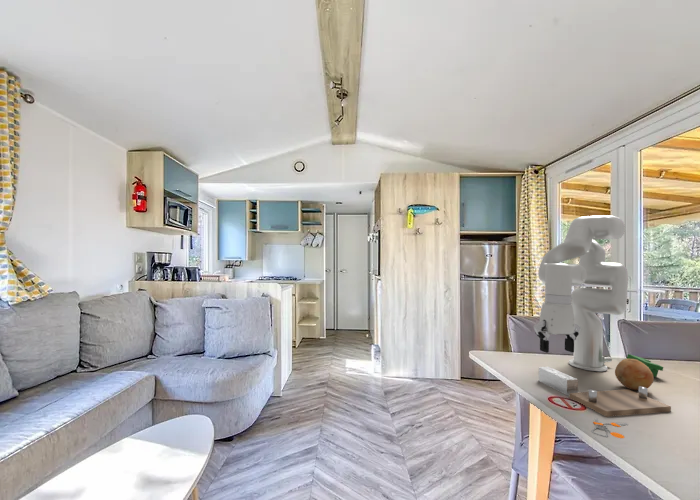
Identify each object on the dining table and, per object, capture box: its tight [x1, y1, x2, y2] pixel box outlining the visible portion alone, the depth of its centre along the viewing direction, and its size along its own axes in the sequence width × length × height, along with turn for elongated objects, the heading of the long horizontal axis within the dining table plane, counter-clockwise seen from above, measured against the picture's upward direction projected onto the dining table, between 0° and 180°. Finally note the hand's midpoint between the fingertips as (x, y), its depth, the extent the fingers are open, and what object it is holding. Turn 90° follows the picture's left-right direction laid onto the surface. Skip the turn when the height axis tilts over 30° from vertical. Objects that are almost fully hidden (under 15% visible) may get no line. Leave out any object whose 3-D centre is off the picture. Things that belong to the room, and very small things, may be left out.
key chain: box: [590, 418, 629, 439], centre depth 84 cm, size 13×7×1 cm, turn 134°
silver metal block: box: [538, 366, 579, 396], centre depth 110 cm, size 4×12×5 cm, turn 10°
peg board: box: [569, 386, 672, 418], centre depth 98 cm, size 22×12×4 cm, turn 101°
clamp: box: [626, 353, 665, 378], centre depth 125 cm, size 12×6×9 cm, turn 162°
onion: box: [614, 358, 655, 391], centre depth 110 cm, size 10×10×10 cm
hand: (556, 351), depth 110 cm, fingers open, 9 cm apart
